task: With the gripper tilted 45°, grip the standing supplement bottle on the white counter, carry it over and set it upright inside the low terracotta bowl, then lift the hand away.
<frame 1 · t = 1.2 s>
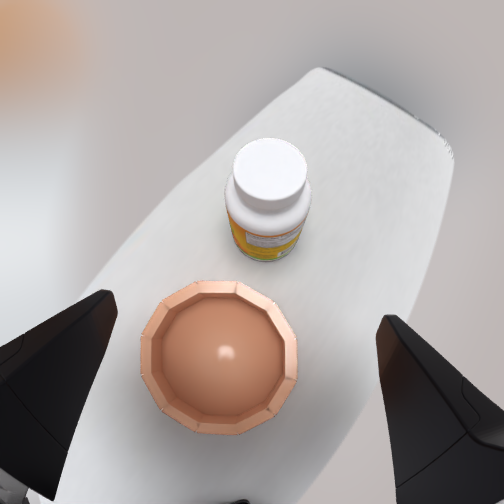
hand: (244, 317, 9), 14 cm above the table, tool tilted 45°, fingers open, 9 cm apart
supplement bottle: (265, 231, 25), on the table
terracotta bowl: (221, 357, 22), on the table
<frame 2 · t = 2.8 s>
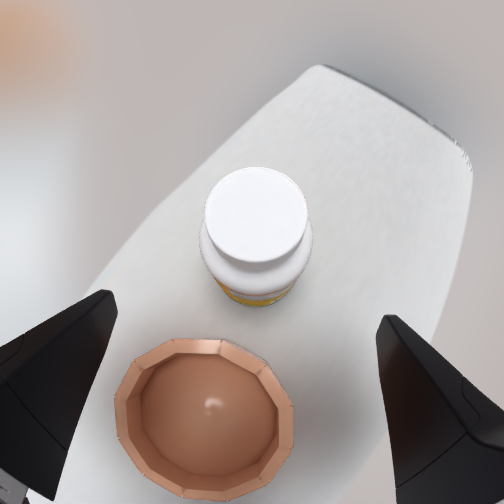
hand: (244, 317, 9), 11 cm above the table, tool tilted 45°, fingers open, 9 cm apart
supplement bottle: (256, 269, 21), on the table
terracotta bowl: (207, 414, 18), on the table
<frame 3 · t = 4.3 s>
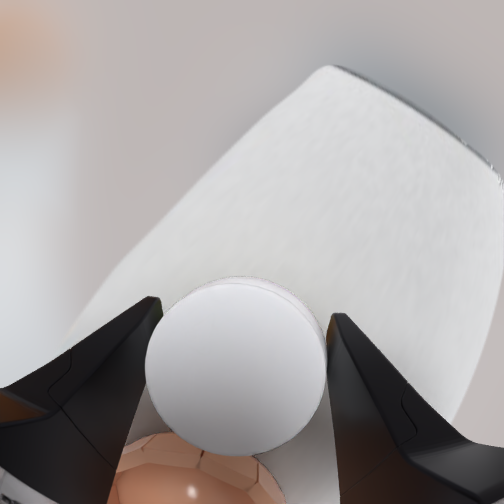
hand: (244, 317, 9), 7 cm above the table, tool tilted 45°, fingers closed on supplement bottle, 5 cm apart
supplement bottle: (247, 350, 15), on the table, touching gripper
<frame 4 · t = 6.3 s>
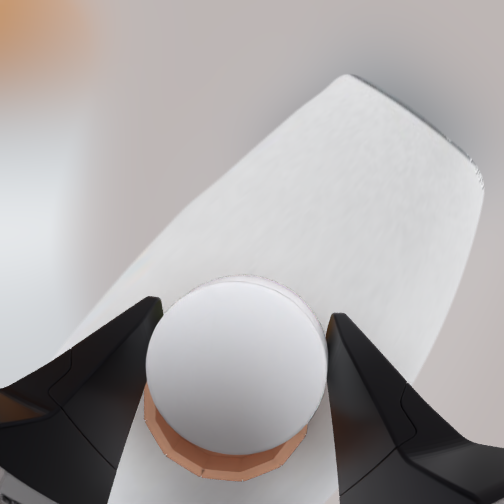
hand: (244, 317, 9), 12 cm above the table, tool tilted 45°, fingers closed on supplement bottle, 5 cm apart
supplement bottle: (248, 349, 15), point 6 cm above the table, touching gripper
terracotta bowl: (228, 400, 20), on the table
when the fingers open (9 cm above the table, at t = 7.9 s): supplement bottle drops 1 cm, resting on terracotta bowl.
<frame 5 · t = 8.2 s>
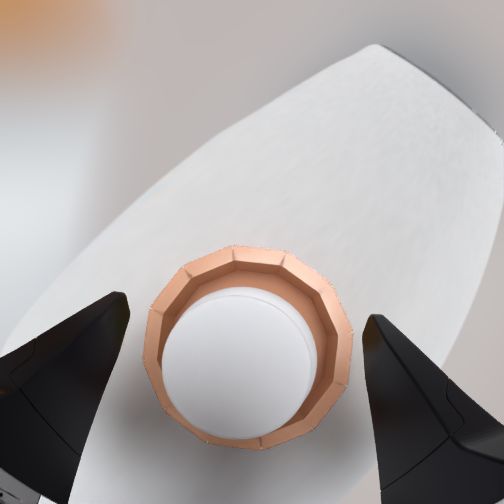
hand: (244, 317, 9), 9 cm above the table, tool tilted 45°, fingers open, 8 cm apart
supplement bottle: (247, 351, 17), point 1 cm above the table, touching terracotta bowl
terracotta bowl: (248, 348, 17), on the table
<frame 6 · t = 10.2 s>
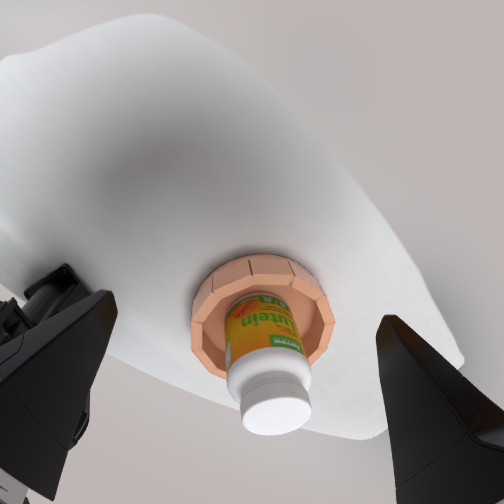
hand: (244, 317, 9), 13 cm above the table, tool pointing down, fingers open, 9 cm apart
supplement bottle: (257, 317, 24), point 1 cm above the table, touching terracotta bowl
terracotta bowl: (258, 313, 24), on the table
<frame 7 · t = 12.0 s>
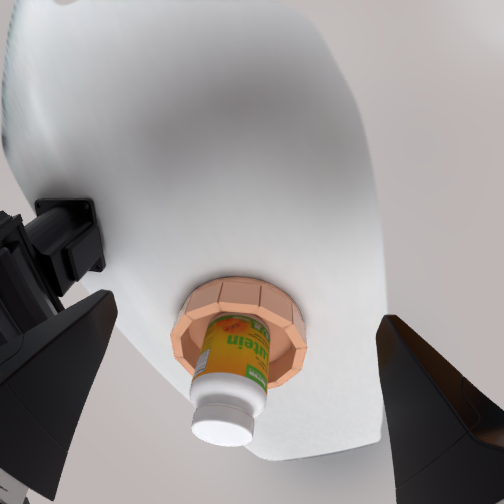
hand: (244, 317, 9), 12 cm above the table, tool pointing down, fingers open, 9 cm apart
supplement bottle: (239, 331, 25), point 1 cm above the table, touching terracotta bowl
terracotta bowl: (241, 327, 26), on the table
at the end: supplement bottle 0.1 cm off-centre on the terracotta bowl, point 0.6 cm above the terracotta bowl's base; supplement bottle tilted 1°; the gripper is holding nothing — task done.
